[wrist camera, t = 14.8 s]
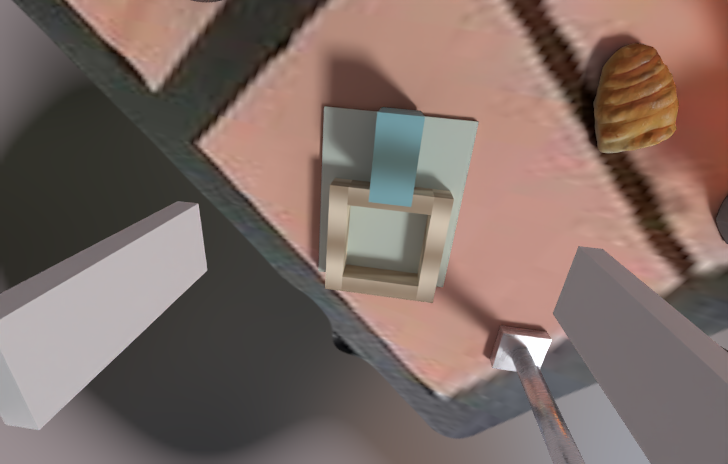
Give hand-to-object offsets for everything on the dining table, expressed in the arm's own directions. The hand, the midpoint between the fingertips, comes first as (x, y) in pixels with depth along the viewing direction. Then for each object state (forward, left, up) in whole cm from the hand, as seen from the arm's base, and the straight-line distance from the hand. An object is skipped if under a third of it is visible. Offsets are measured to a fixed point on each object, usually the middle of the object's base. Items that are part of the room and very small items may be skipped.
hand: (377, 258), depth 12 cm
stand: (+25, +20, -27) cm, 42 cm away
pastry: (-6, +22, -27) cm, 35 cm away
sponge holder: (+7, 0, -26) cm, 27 cm away
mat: (+7, 0, -27) cm, 28 cm away
